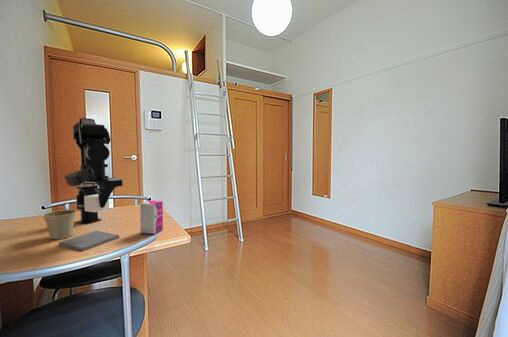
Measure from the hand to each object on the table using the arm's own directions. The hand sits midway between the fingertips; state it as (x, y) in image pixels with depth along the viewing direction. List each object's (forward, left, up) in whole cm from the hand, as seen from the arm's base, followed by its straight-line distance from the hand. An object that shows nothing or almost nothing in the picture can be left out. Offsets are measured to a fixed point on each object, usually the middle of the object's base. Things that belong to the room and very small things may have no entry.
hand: (96, 206), depth 80 cm
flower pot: (-14, -4, -11) cm, 19 cm away
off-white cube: (0, 0, -1) cm, 1 cm away
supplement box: (+12, +12, -11) cm, 21 cm away
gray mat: (0, -3, -11) cm, 12 cm away
